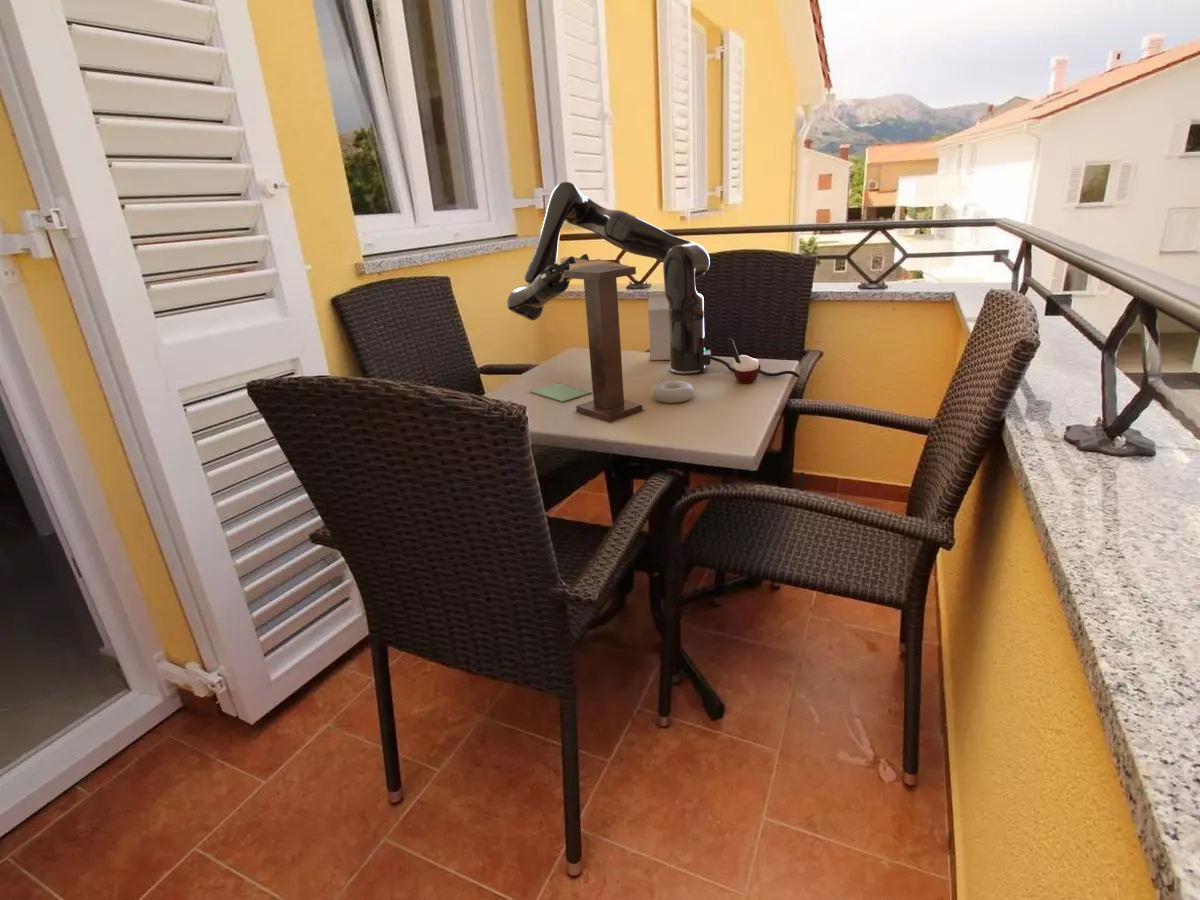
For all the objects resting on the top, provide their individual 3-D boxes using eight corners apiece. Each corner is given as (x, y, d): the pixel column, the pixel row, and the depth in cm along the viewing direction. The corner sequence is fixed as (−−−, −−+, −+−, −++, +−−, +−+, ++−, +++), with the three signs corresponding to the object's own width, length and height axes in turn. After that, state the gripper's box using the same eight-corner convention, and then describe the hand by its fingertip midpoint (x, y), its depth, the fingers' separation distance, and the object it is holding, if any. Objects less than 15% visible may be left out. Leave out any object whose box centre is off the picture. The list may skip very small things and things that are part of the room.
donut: (689, 406, 145) (697, 392, 153) (689, 392, 143) (697, 378, 152) (647, 404, 148) (657, 391, 156) (646, 390, 146) (657, 378, 155)
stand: (576, 411, 146) (563, 270, 134) (608, 401, 152) (598, 265, 140) (610, 422, 138) (599, 273, 126) (643, 410, 144) (635, 266, 132)
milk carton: (674, 360, 184) (672, 294, 177) (650, 360, 185) (647, 295, 178) (676, 354, 190) (674, 290, 183) (653, 354, 192) (650, 291, 185)
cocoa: (758, 376, 162) (759, 330, 157) (766, 383, 156) (768, 335, 152) (722, 380, 161) (722, 334, 157) (729, 387, 156) (729, 339, 151)
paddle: (551, 267, 159) (551, 259, 158) (580, 262, 163) (580, 254, 162) (598, 280, 144) (598, 271, 143) (629, 274, 149) (629, 265, 148)
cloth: (530, 392, 164) (530, 391, 164) (558, 384, 169) (558, 383, 169) (562, 402, 154) (562, 401, 154) (591, 393, 159) (590, 392, 159)
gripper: (522, 274, 166) (551, 247, 151) (566, 267, 173) (598, 240, 159) (532, 301, 166) (561, 277, 152) (575, 293, 174) (607, 269, 159)
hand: (580, 259), depth 155 cm, fingers closed on paddle, 3 cm apart
